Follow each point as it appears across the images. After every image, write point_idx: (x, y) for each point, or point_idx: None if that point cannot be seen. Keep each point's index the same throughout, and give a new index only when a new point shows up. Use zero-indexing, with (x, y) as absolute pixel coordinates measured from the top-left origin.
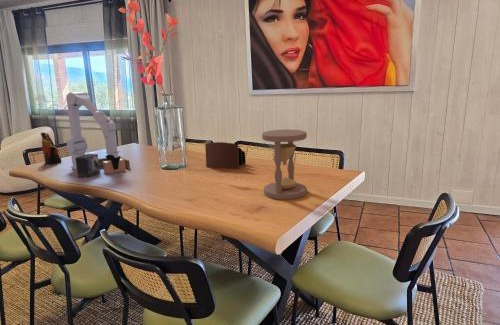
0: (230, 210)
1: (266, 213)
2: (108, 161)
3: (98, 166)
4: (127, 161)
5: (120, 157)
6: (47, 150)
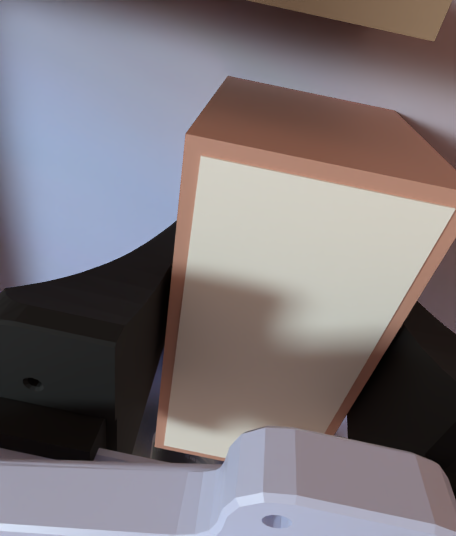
0: None
1: None
2: (254, 425)
3: (155, 416)
4: (428, 20)
5: None
6: None
